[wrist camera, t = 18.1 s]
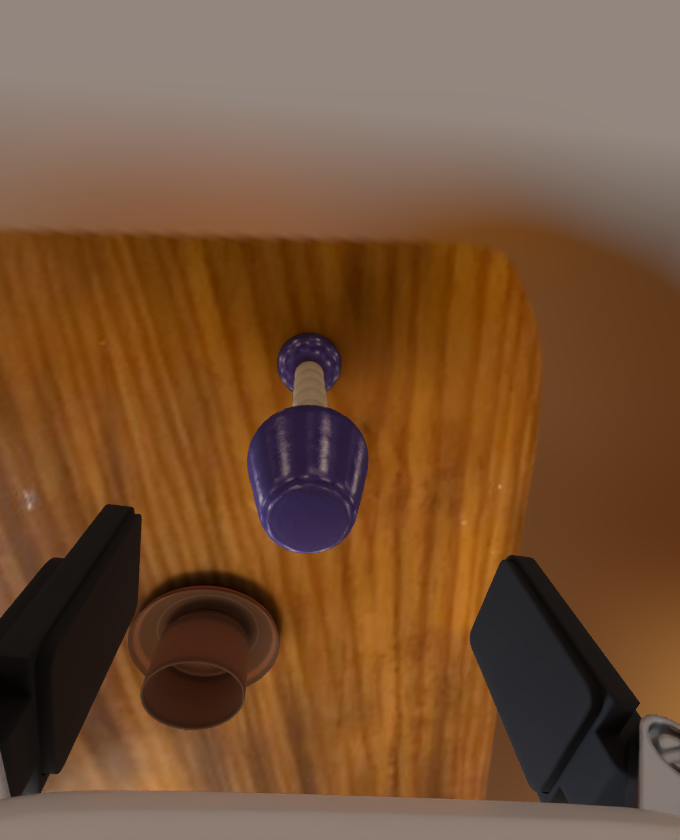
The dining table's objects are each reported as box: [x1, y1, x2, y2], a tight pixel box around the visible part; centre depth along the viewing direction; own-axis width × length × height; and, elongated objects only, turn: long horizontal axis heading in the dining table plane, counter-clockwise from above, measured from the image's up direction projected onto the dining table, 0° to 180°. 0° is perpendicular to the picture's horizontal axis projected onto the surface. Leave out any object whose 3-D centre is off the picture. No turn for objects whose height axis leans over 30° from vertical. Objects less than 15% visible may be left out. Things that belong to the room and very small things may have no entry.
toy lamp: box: [247, 333, 368, 554], centre depth 21 cm, size 5×5×17 cm
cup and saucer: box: [128, 586, 279, 731], centre depth 33 cm, size 12×12×6 cm
